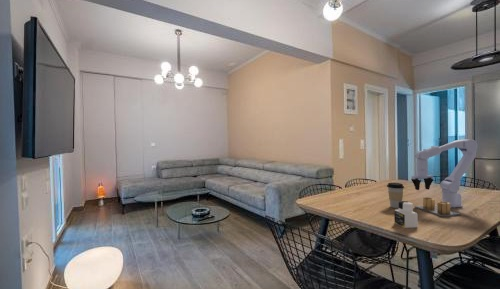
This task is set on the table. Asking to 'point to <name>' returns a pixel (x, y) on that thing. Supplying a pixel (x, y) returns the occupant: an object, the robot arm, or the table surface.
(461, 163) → the robot arm
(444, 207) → the block
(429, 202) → the tan wooden cube
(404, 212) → the medicine bottle
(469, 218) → the table surface
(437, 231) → the table surface
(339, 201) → the table surface
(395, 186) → the coffee cup
